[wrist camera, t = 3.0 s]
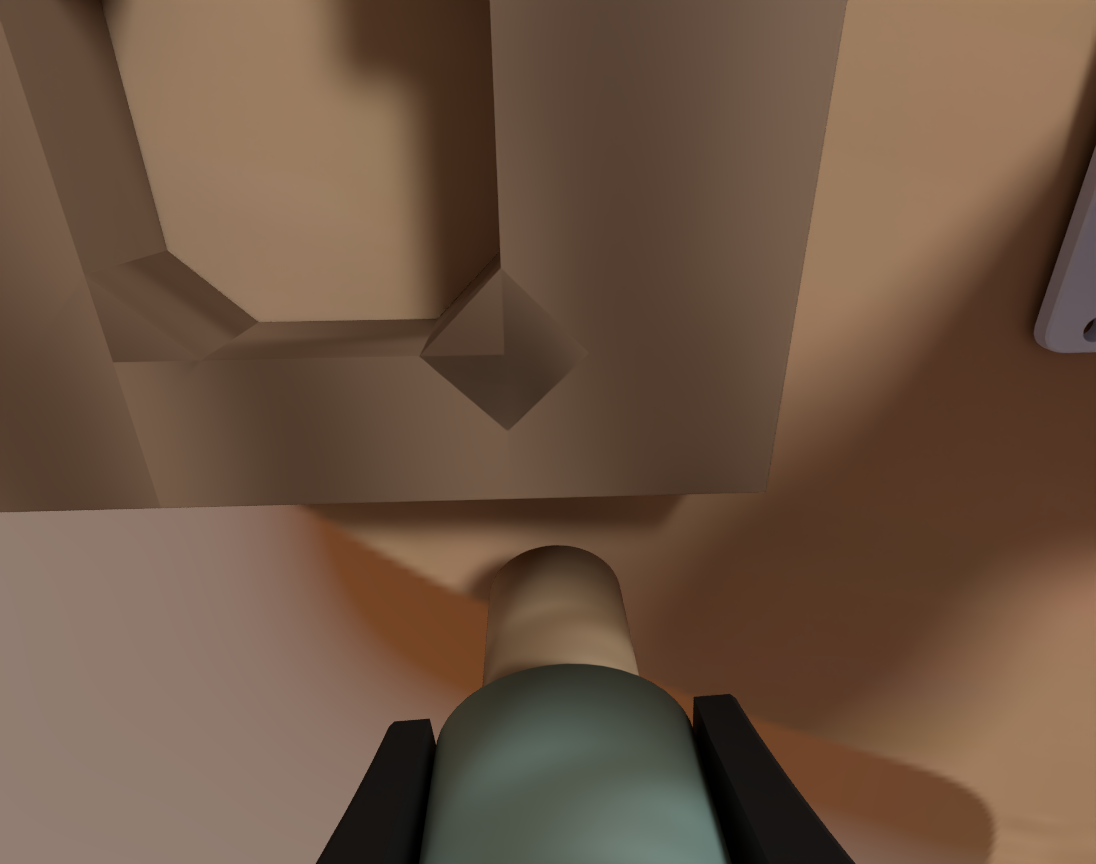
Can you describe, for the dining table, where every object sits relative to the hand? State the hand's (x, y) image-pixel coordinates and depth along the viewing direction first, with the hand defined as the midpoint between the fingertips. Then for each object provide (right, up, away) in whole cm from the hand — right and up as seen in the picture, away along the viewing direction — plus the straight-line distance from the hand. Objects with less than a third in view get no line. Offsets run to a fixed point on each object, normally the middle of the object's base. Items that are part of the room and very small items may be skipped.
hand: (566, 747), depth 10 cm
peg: (0, +2, +3) cm, 4 cm away
